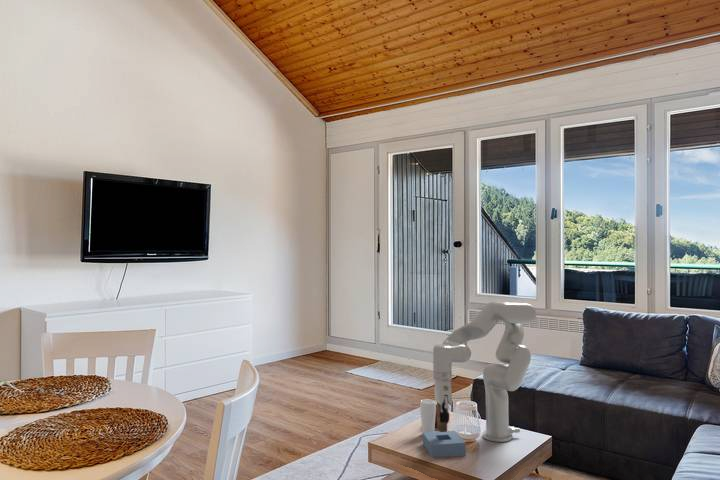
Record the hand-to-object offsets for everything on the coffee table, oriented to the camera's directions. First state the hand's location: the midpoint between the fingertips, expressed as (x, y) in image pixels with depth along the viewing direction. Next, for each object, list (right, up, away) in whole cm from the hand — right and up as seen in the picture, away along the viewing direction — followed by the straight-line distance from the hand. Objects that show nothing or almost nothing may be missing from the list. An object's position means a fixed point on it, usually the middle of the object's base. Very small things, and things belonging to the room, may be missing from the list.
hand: (442, 419), depth 215 cm
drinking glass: (-4, -13, +17) cm, 21 cm away
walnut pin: (0, -4, 0) cm, 4 cm away
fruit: (+3, -13, +29) cm, 32 cm away
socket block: (+1, -12, 0) cm, 12 cm away
